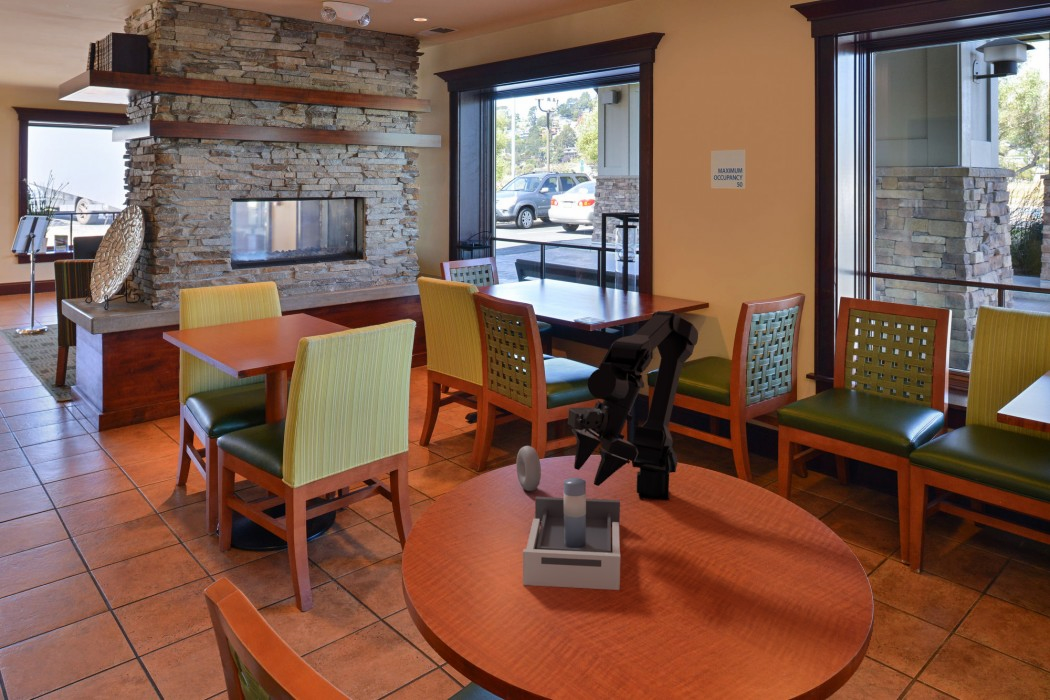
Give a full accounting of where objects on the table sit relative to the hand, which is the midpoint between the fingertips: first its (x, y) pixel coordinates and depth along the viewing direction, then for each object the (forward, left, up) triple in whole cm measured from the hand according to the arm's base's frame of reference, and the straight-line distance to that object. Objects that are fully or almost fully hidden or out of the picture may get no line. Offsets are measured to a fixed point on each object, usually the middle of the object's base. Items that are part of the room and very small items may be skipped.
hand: (585, 476), depth 154 cm
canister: (+2, +11, -9) cm, 14 cm away
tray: (+2, +8, -10) cm, 13 cm away
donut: (+13, -19, -11) cm, 25 cm away
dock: (+2, +15, -10) cm, 18 cm away
